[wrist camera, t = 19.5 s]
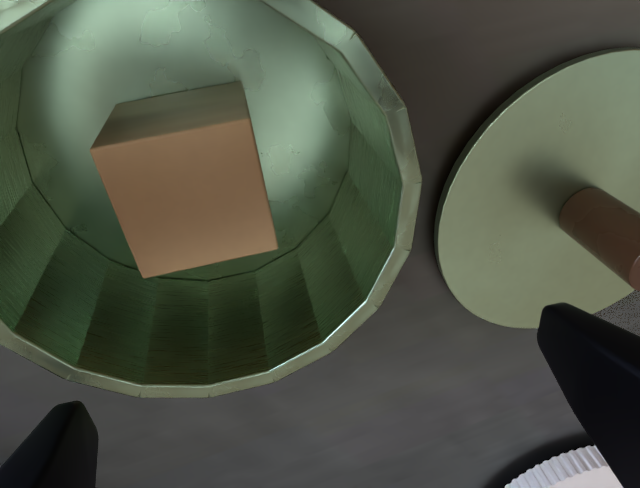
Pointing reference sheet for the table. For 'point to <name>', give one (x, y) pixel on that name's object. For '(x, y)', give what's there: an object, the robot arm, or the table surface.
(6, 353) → the table surface
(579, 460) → the plastic lid
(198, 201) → the cube
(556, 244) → the lid
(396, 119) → the pot
